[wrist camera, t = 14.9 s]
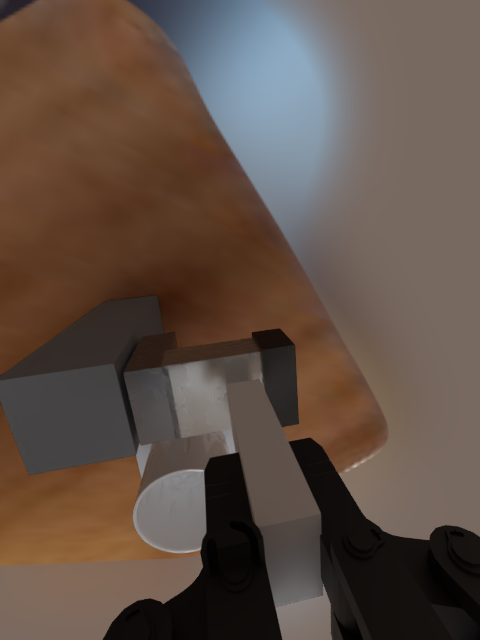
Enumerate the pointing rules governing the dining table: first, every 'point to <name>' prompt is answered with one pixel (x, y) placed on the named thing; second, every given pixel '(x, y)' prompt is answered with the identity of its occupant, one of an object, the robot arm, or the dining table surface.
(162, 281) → the dining table surface
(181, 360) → the handle
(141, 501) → the white cup
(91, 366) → the frame
